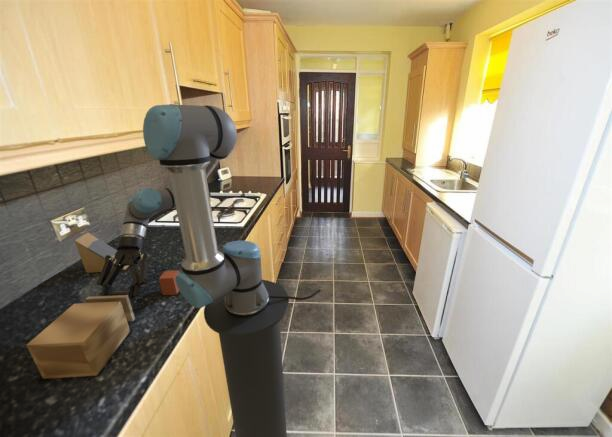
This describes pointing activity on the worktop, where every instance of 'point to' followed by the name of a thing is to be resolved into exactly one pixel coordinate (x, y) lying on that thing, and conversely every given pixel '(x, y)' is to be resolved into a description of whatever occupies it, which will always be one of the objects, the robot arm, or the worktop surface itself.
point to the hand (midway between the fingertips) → (116, 307)
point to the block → (169, 283)
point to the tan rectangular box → (80, 340)
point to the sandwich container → (94, 252)
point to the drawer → (116, 297)
